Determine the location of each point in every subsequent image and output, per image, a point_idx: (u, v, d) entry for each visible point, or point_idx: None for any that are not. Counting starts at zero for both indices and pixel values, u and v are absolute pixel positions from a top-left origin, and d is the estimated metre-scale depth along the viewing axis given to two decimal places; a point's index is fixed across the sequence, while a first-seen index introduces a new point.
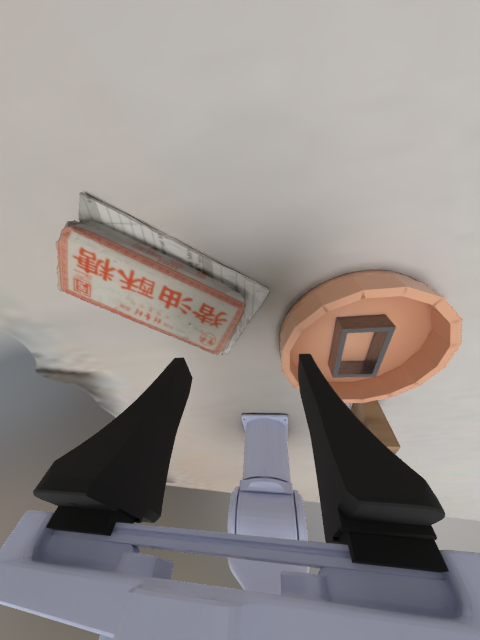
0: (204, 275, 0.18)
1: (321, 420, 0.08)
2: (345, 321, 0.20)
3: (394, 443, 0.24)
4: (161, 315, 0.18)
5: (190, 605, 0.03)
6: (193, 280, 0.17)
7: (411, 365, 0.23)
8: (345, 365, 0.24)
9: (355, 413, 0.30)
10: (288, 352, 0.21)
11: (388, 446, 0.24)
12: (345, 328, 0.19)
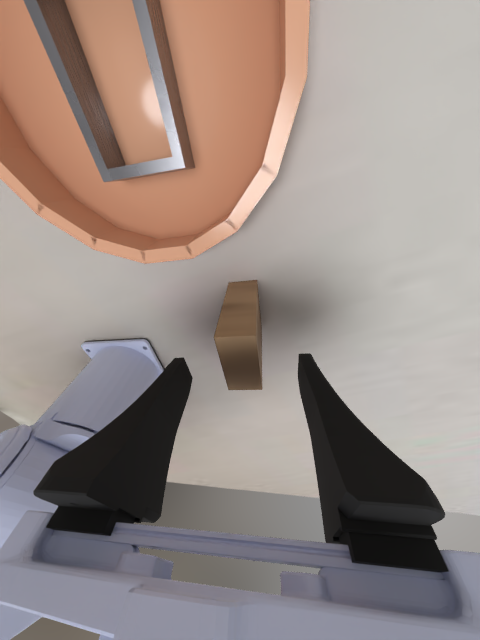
0: None
1: (321, 420, 0.08)
2: None
3: (247, 331, 0.12)
4: None
5: (190, 605, 0.03)
6: None
7: None
8: None
9: None
10: None
11: (234, 337, 0.11)
12: None
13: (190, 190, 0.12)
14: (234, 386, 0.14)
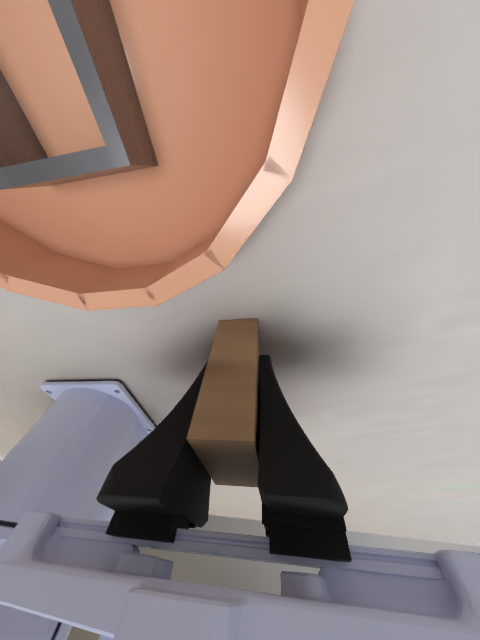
0: None
1: (260, 419, 0.08)
2: None
3: (241, 429, 0.07)
4: None
5: (190, 605, 0.03)
6: None
7: None
8: None
9: None
10: None
11: (219, 439, 0.07)
12: None
13: (153, 200, 0.08)
14: (223, 482, 0.10)
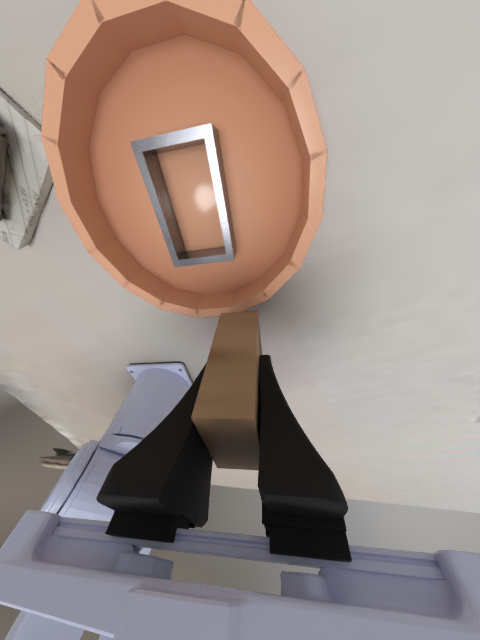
0: None
1: (260, 419, 0.08)
2: None
3: (242, 409, 0.08)
4: None
5: (190, 605, 0.03)
6: None
7: (291, 243, 0.15)
8: (198, 252, 0.16)
9: None
10: (70, 205, 0.13)
11: (221, 418, 0.08)
12: (135, 141, 0.11)
13: (231, 264, 0.17)
14: (225, 465, 0.10)
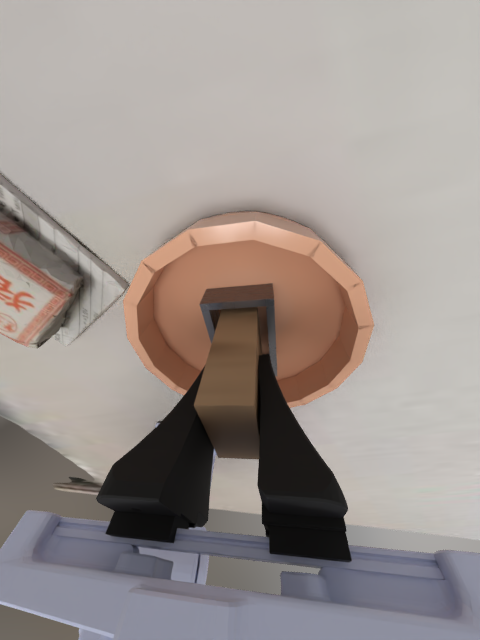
0: (15, 230, 0.12)
1: (260, 419, 0.08)
2: (212, 293, 0.13)
3: (242, 396, 0.08)
4: None
5: (190, 605, 0.03)
6: None
7: (328, 360, 0.16)
8: None
9: None
10: (137, 340, 0.14)
11: (222, 405, 0.08)
12: (203, 302, 0.13)
13: None
14: (226, 454, 0.11)
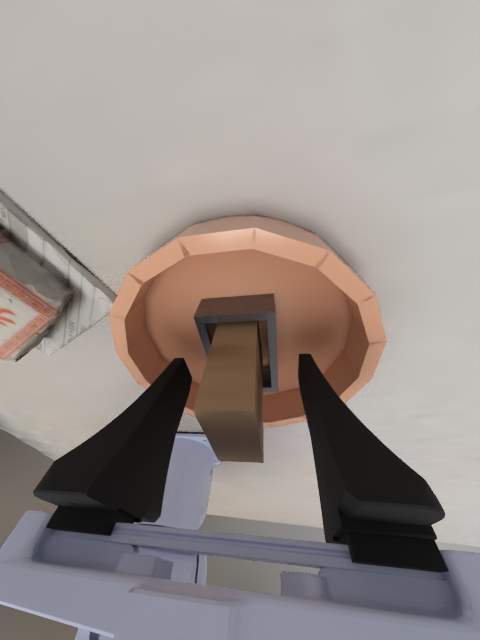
0: None
1: (321, 420, 0.08)
2: (208, 305, 0.12)
3: (242, 401, 0.08)
4: None
5: (190, 605, 0.03)
6: None
7: (333, 374, 0.15)
8: None
9: None
10: (127, 355, 0.13)
11: (222, 410, 0.08)
12: (198, 315, 0.12)
13: None
14: (226, 458, 0.10)
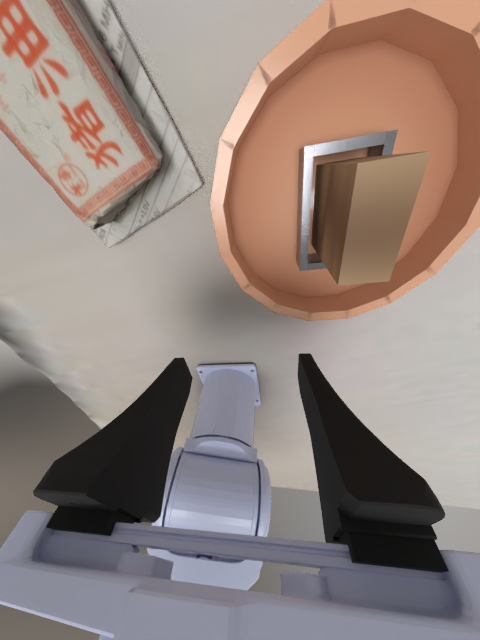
0: (115, 70, 0.11)
1: (321, 420, 0.08)
2: None
3: (410, 154, 0.07)
4: None
5: (190, 605, 0.03)
6: (86, 44, 0.09)
7: (421, 247, 0.15)
8: None
9: (316, 219, 0.14)
10: (221, 209, 0.13)
11: (391, 160, 0.07)
12: None
13: None
14: (349, 277, 0.10)
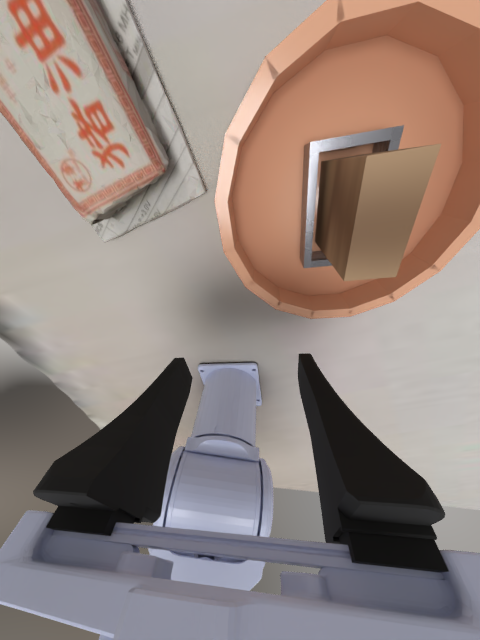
0: (129, 73, 0.11)
1: (321, 420, 0.08)
2: None
3: (419, 147, 0.07)
4: None
5: (190, 605, 0.03)
6: (103, 47, 0.10)
7: (425, 245, 0.15)
8: None
9: (321, 216, 0.14)
10: (225, 205, 0.13)
11: (400, 153, 0.07)
12: (314, 141, 0.11)
13: None
14: (356, 273, 0.10)
